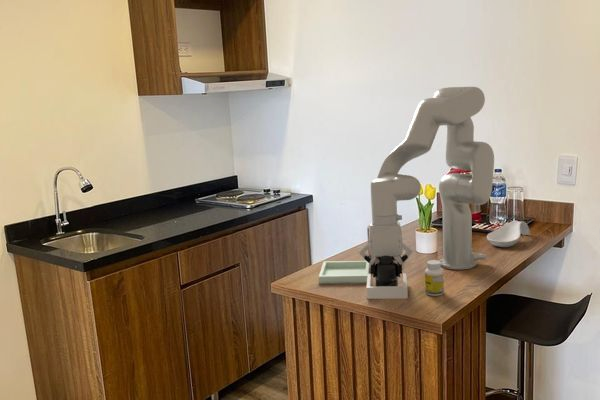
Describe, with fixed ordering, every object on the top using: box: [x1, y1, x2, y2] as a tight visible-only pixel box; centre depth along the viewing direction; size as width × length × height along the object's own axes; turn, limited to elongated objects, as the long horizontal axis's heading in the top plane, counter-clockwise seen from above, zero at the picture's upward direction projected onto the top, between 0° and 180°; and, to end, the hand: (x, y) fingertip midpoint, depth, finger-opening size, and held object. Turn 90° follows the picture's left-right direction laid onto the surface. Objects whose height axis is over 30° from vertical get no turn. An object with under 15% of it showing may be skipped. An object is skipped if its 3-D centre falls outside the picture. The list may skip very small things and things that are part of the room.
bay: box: [365, 272, 409, 300], centre depth 178 cm, size 12×12×4 cm
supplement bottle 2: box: [424, 259, 445, 297], centre depth 173 cm, size 5×5×10 cm
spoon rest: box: [486, 220, 531, 248], centre depth 221 cm, size 24×12×7 cm, turn 135°
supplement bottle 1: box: [374, 256, 399, 286], centre depth 177 cm, size 7×7×12 cm
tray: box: [318, 260, 371, 285], centre depth 195 cm, size 16×16×2 cm
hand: (386, 275), depth 177 cm, fingers closed on supplement bottle 1, 6 cm apart
